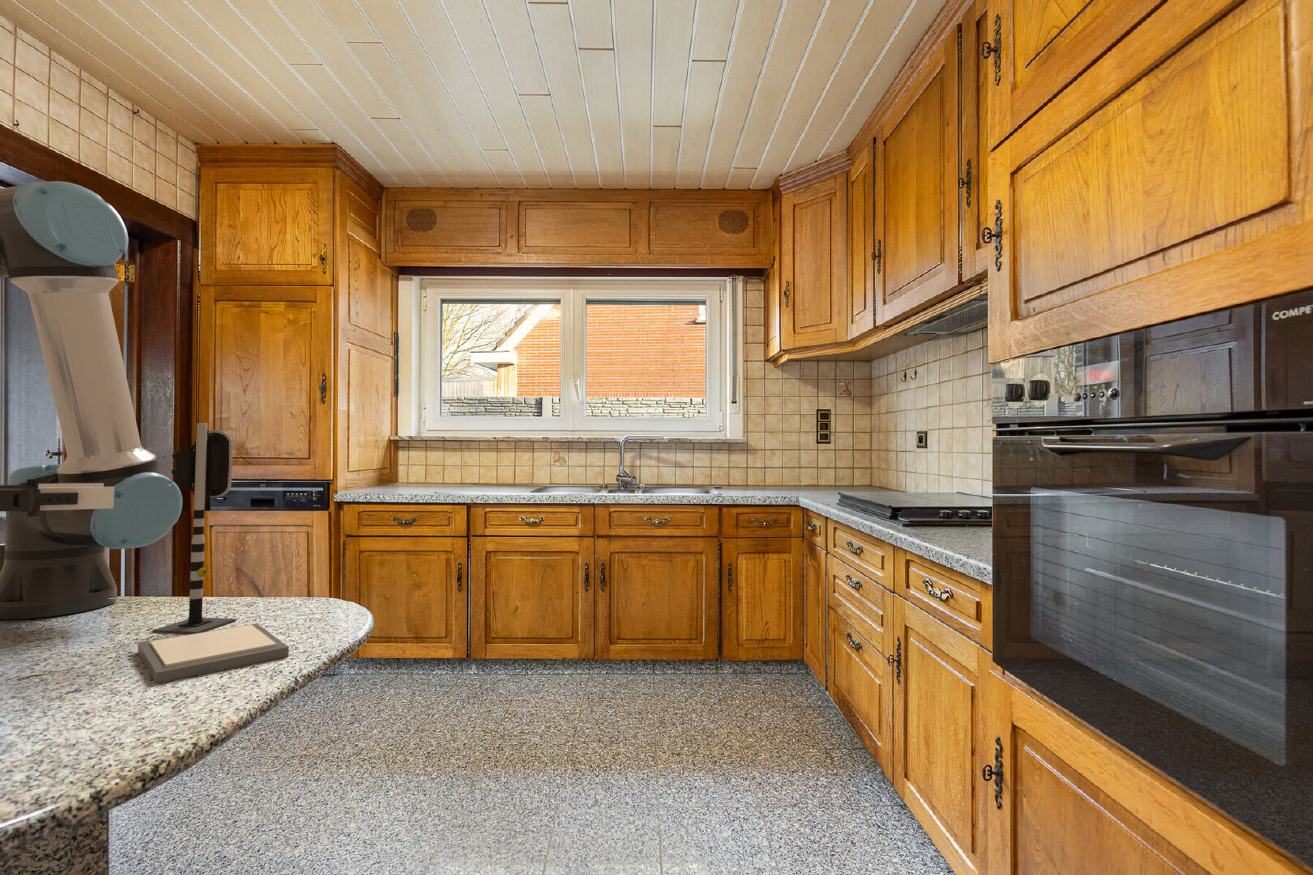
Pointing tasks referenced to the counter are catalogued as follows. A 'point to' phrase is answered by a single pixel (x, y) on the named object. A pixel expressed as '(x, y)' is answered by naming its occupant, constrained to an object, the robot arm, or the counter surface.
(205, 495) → the miniature traffic light
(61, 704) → the counter surface
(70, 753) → the counter surface
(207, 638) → the plate
